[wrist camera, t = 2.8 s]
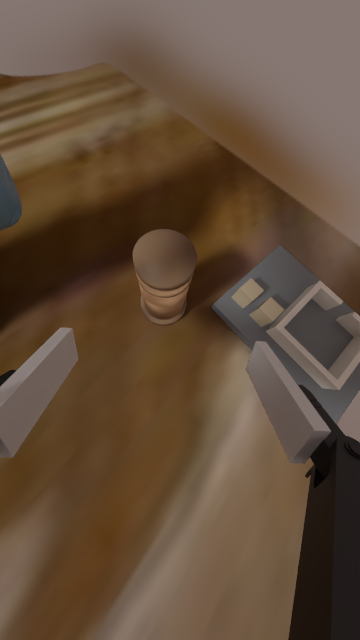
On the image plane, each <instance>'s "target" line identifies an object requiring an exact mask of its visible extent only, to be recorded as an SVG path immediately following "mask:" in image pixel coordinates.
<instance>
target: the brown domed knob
mask: <svg viewBox="0 0 360 640" xmlns="http://www.w3.org/2000/svg"><path fill="white" fill-rule="evenodd" d="M133 262H134V266H135V271H136V276H137V280H138V282H139V285H140V289H141V293H142V295H141V308H142V311H143V313H144V315H145V316H146V318H147V319H148V320H150V321H151V322H153V323H155V324H157V325H171V324H173V323H175V322H177V321H178V320H179V319H180V318H181V317H182V316H183V314H184V312H185V310H186V306H187V298H186V295H187V292H188V289H189V285H190V283H191V281H192V277H193V273H194V269H195V266H196V262H197V254H196V250H195V248H194V246H193V244H192V243H191V241H190V240H189V239H188V238H187V237H186V236H184V235H183V234H181V233H179V232H177V231H173V230H169V229H158V230H153V231H151V232H148V233H146V234H145V235H143V236H142V237H141V238H140V239H139V240H138V241H137V243H136V244H135V247H134V249H133Z"/></svg>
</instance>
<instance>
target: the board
mask: <svg viewBox="0 0 360 640" xmlns="http://www.w3.org/2000/svg"><path fill="white" fill-rule="evenodd" d="M211 308H212V309H213V310H214V311H215V312H216V313H217V314H218V315H219V316H220V318H221V319H222V320H223V321H224V322H225V323H226V324H227V325H228V326H229V327H230V328H231V329H232V330H233V331H234V332H235V333H236V334H237V335H238V336H239V337H240V338H241V339H242V340H243V341H244V342H245V343H246V344H247V345H248V346H249V348H250V349H251V350H252V351H253V348H254V345H255V342H256V341H263V342H266V343H267V344H268V345H269V347H270V348H271V349H272V351H273V352H274V353H275V355H276V356H277V358H278V359H279V360H280V362H281V363H282V364H283V366H284V367H285V369H286V370H287V371H288V373H289V374H290V375H291V377H292V378H293V379H294V381H295V382H296V384H297V385H303V386H304V387H306V388H307V389H308V390H309V391H310V392H311V393H312V394H313V395H314V396H315V398H316V399H317V401H318V402H319V403H320V404H321V405H322V407H323V408H324V409H325V410H326V412H327V413H328V414H329V416H330V417H331V418H332V419H333V421H334V422H335V423H337V422H338V420H339V419H340V418H341V416H342V415H343V413H344V412H345V410H346V409H347V407H348V406H349V404H350V403H351V402H352V400H353V399H354V397H355V396H356V394H357V393H358V391H359V390H360V316H359V315H358V314H357V313H356V312H355V311H354V310H352V309H351V308H350V307H349V306H348V305H347V304H346V303H345V302H344V301H342V300H341V299H340V298H339V297H338V296H337V295H336V294H335V293H334V292H332V291H331V290H330V289H329V288H328V287H327V286H326V285H325V284H324V283H322V282H321V281H320V280H319V279H318V278H317V277H316V276H315V275H313V274H312V273H311V272H310V271H309V270H308V269H307V268H306V267H305V266H303V265H302V264H301V263H300V262H299V261H298V260H297V259H296V258H295V257H293V256H292V255H291V254H290V253H289V252H288V251H287V250H286V249H285V248H283V247H282V246H281V245H280V246H278V247H277V248H276V249H275V250H274V251H273V252H272V253H270V254H269V255H268V256H267V257H266V258H265V259H264V260H262V261H261V262H260V263H259V264H258V265H257V266H256V267H255V268H253V269H252V270H251V271H250V272H249V273H248V274H247V275H245V276H244V277H243V278H242V279H241V280H240V281H239V282H238V283H236V284H235V285H234V286H233V287H232V288H231V289H230V290H228V291H227V292H226V293H225V294H224V295H223V296H222V297H221V298H219V299H218V300H217V301H216V302H215V303H214V304H213V305H212V306H211Z"/></svg>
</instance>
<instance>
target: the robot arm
mask: <svg viewBox="0 0 360 640" xmlns="http://www.w3.org/2000/svg"><path fill="white" fill-rule="evenodd" d="M21 213H22V205H21V200H20V197H19V194H18V191H17V189H16V186H15V184H14V181H13V179H12V177H11V175H10V173H9V171H8V169H7V167H6V165H5V163H4V160H3V158H2V156H1V154H0V230H3V229H6V228H8V227H11V226H13V225H14V224H16V223H17V222H18V221H19V219H20V217H21ZM77 361H78V354H77V349H76V345H75V340H74V335H73V330H72V328H60V329H59V330H58V331H57V332H55V333H54V334H53V335H52V336H51V337H50V338H49V339H48V340H47V341H46V342H45V343H44V344H43V345H42V346H41V347H40V348H39V349H38V350H37V351H36V352H35V353H34V354H33V355H32V356H31V357H30V358H29V359H28V360H27V361H26V362H25V363H24V364H23V365H22V366H21V367H20V368H19V369H18V370H10V371H8V372H7V373H5V374H3V375H1V376H0V457H13V456H14V455H15V453H16V452H17V450H18V449H19V447H20V446H21V444H22V443H23V441H24V440H25V438H26V437H27V435H28V434H29V432H30V431H31V429H32V428H33V426H34V425H35V423H36V422H37V420H38V419H39V417H40V416H41V414H42V413H43V412H44V410H45V409H46V407H47V406H48V404H49V403H50V401H51V400H52V398H53V397H54V395H55V394H56V392H57V391H58V389H59V388H60V386H61V385H62V383H63V382H64V380H65V379H66V377H67V376H68V374H69V373H70V371H71V370H72V368H73V367H74V365H75V364H76V362H77ZM246 370H247V372H248V374H249V376H250V379H251V381H252V383H253V385H254V387H255V389H256V391H257V393H258V396H259V398H260V400H261V402H262V404H263V406H264V408H265V410H266V413H267V415H268V417H269V419H270V421H271V423H272V425H273V427H274V430H275V432H276V434H277V436H278V438H279V440H280V442H281V444H282V447H283V449H284V451H285V453H286V455H287V457H288V459H289V461H290V463H306V461H307V460H308V459H309V458H311V459H312V461H313V463H314V465H313V466H312V467H311V469H310V470H309V471H308V472H307V473H306V475H305V476H306V477H307V478H308V477H309V476H310V475H311V478H310V485H309V493H308V500H307V507H306V515H305V522H304V529H303V537H302V544H301V551H300V559H299V566H298V574H297V581H296V588H295V596H294V603H293V610H292V618H291V625H290V632H289V640H360V443H359V442H358V441H356V440H355V439H353V438H351V437H348V436H345V435H344V434H343V432H342V431H341V430H340V429H339V427H338V426H337V425H336V423H335V422H334V421H333V419H332V418H331V417H330V416H329V414H328V413H327V412H326V410H325V409H324V408H323V407H322V405H321V404H320V403H319V402H318V401H317V399H316V398H315V396H314V395H313V394H312V393H311V392H310V391H309V390H308V389H307V388H306V387H304V386H303V385H297V384H296V382H295V381H294V379H293V378H292V377H291V375H290V374H289V373H288V371H287V370H286V369H285V367H284V366H283V364H282V363H281V362H280V360H279V359H278V358H277V356H276V355H275V353H274V352H273V351H272V349H271V348H270V347H269V345H268V344H267V343H266V342H263V341H256V342H255V345H254V348H253V351H252V353H251V356H250V359H249V362H248V364H247V367H246Z"/></svg>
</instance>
